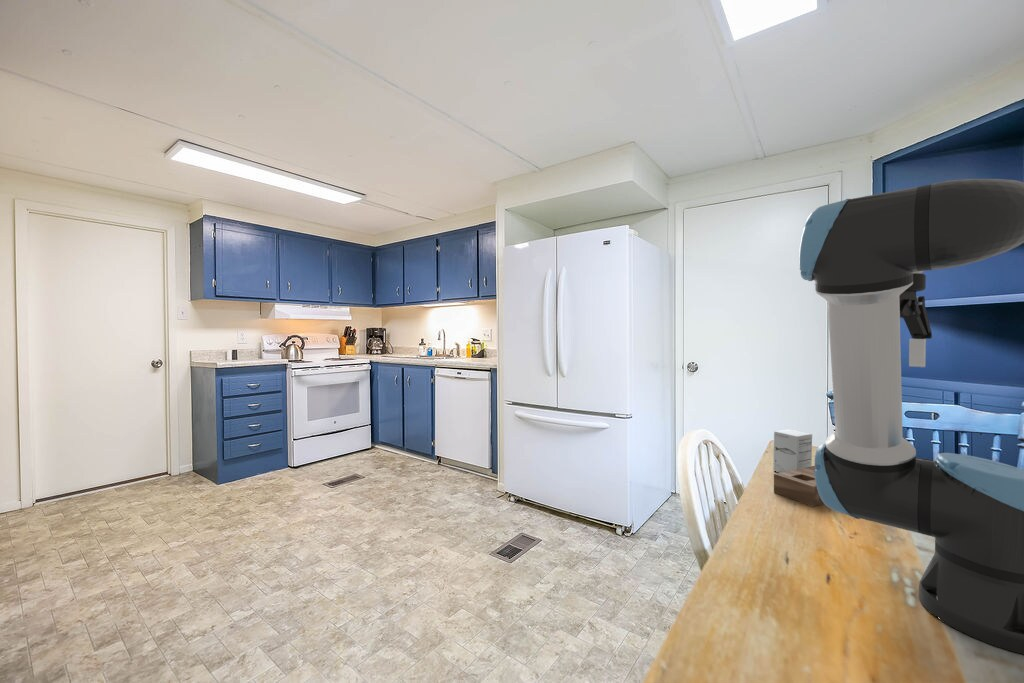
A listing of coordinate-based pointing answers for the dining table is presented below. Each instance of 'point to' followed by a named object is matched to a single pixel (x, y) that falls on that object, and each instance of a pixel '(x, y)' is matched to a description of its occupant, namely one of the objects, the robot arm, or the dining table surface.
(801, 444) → the supplement box
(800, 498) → the hole block
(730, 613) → the dining table surface
